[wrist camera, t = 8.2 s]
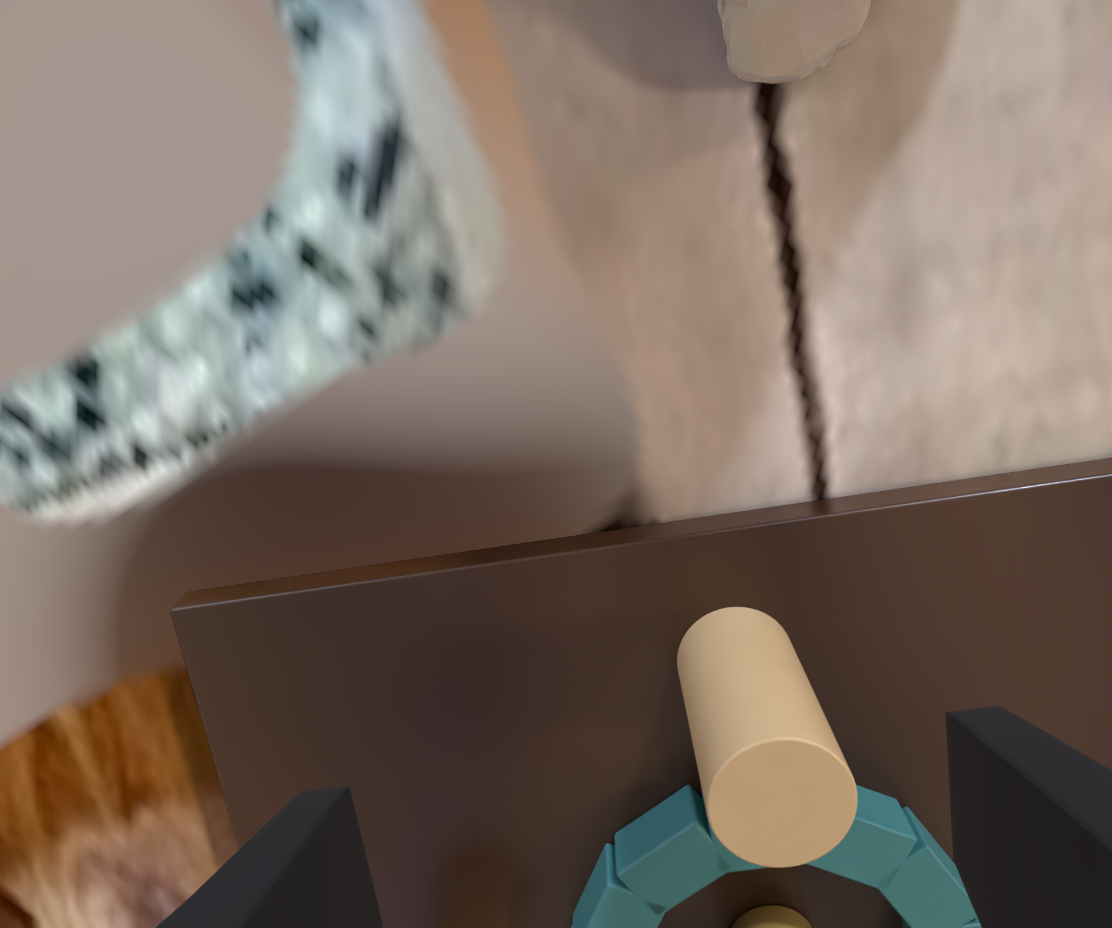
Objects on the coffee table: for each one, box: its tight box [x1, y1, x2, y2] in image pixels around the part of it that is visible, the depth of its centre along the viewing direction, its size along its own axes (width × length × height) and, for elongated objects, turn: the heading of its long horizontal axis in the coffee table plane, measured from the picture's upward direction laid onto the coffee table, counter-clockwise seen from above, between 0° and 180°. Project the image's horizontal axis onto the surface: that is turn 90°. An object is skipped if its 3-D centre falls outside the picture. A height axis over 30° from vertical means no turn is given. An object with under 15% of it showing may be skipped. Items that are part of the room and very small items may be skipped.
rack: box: [170, 458, 1112, 928], centre depth 21 cm, size 23×15×4 cm, turn 99°
